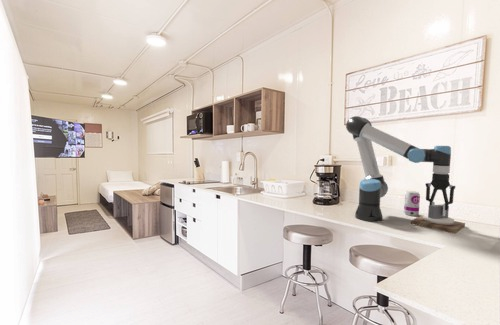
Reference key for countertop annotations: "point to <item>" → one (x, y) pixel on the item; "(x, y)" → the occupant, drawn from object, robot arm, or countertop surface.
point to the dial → (438, 215)
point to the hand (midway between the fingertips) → (438, 214)
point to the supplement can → (412, 203)
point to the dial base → (439, 225)
